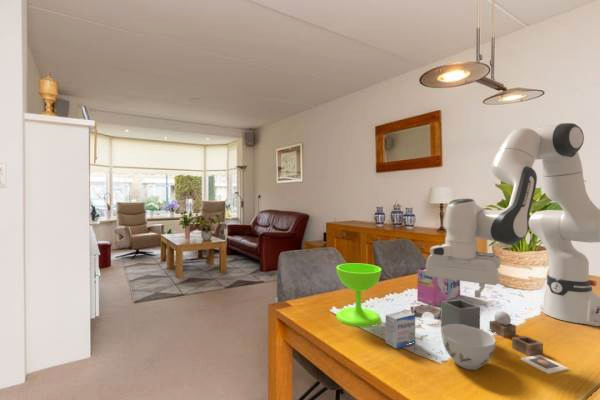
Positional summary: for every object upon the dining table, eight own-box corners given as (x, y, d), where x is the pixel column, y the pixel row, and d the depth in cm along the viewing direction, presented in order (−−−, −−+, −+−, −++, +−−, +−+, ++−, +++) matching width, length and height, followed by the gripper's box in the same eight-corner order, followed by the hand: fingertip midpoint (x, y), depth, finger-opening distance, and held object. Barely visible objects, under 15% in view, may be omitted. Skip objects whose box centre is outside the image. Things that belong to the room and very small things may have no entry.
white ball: (501, 321, 101) (501, 308, 101) (514, 327, 97) (514, 313, 97) (491, 323, 100) (491, 309, 100) (503, 328, 96) (503, 314, 96)
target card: (539, 355, 84) (539, 353, 84) (568, 369, 77) (568, 367, 77) (520, 359, 82) (520, 357, 82) (548, 374, 75) (548, 371, 75)
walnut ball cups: (501, 328, 101) (501, 319, 101) (553, 352, 86) (553, 341, 86) (479, 331, 99) (479, 322, 99) (529, 356, 83) (529, 345, 83)
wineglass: (384, 313, 114) (384, 265, 114) (376, 330, 100) (376, 275, 99) (343, 307, 121) (343, 261, 121) (329, 321, 106) (330, 270, 106)
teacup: (470, 382, 72) (470, 348, 72) (430, 356, 83) (430, 327, 83) (514, 370, 77) (514, 338, 77) (470, 347, 89) (470, 319, 89)
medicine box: (396, 349, 87) (396, 319, 87) (385, 343, 91) (385, 314, 91) (415, 343, 91) (415, 314, 91) (404, 337, 95) (404, 309, 95)
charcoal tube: (460, 329, 101) (460, 299, 101) (479, 339, 93) (480, 307, 93) (441, 332, 98) (441, 301, 98) (459, 342, 91) (459, 309, 91)
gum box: (444, 290, 143) (445, 261, 143) (462, 294, 137) (462, 264, 137) (416, 300, 129) (416, 268, 129) (434, 306, 123) (434, 272, 122)
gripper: (500, 252, 93) (499, 297, 93) (428, 246, 104) (428, 286, 104) (500, 255, 87) (499, 303, 87) (424, 248, 99) (424, 291, 99)
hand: (460, 294), depth 96 cm, fingers open, 8 cm apart
